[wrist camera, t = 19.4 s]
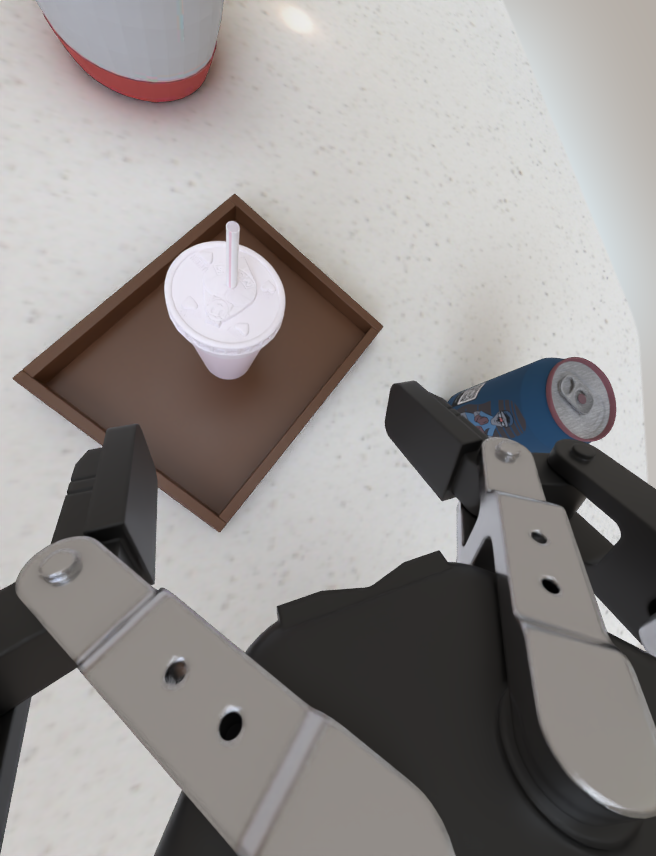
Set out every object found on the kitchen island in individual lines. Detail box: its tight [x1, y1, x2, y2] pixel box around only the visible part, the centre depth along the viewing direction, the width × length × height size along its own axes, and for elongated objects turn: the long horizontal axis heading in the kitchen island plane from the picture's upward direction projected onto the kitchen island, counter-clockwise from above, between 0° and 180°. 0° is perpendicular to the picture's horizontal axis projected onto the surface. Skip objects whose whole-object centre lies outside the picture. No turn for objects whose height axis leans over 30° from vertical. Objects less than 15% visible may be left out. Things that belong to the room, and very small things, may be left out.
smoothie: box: [164, 221, 285, 380], centre depth 21 cm, size 6×6×14 cm
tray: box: [13, 194, 383, 532], centre depth 27 cm, size 22×17×2 cm
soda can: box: [447, 357, 616, 453], centre depth 28 cm, size 7×7×12 cm
